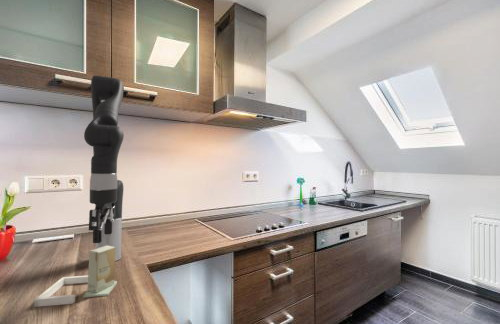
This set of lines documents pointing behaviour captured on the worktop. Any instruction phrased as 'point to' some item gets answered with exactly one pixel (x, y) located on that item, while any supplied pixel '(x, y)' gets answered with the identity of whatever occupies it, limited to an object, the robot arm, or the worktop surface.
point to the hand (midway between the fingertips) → (103, 238)
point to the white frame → (56, 300)
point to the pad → (100, 292)
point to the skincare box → (101, 268)
